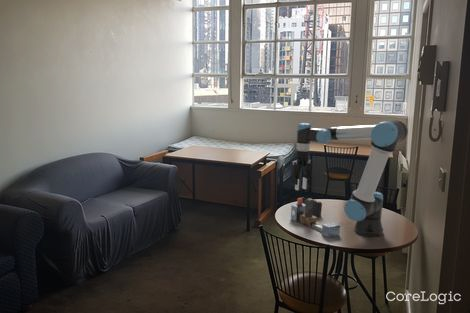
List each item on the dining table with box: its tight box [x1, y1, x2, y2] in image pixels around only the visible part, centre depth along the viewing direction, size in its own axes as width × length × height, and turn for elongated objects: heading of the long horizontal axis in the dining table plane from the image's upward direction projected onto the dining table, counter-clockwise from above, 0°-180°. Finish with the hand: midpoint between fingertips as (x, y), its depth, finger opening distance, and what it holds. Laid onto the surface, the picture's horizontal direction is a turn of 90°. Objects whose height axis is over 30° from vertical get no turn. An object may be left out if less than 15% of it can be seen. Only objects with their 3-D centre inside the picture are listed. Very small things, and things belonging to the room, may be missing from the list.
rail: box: [290, 203, 341, 239], centre depth 229 cm, size 32×8×9 cm, turn 30°
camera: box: [300, 196, 323, 218], centre depth 254 cm, size 14×11×10 cm
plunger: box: [296, 197, 302, 206], centre depth 240 cm, size 3×3×4 cm
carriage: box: [300, 197, 318, 228], centre depth 233 cm, size 8×6×15 cm
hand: (300, 189), depth 238 cm, fingers open, 5 cm apart
